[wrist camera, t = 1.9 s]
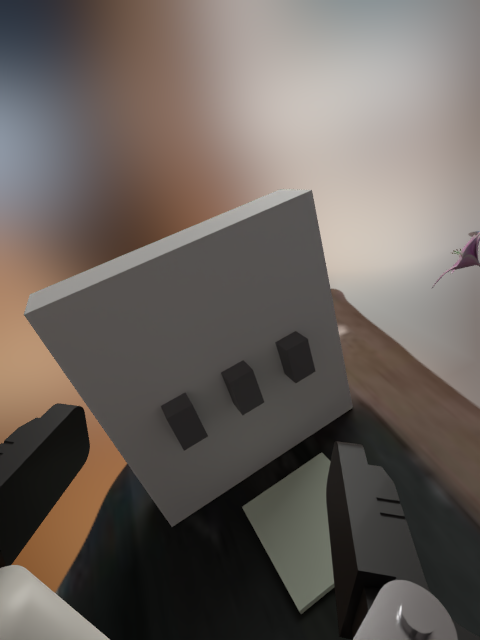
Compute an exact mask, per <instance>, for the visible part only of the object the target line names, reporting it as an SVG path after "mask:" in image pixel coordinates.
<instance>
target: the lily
mask: <svg viewBox="0 0 480 640" xmlns="http://www.w3.org/2000/svg"><path fill="white" fill-rule="evenodd" d="M479 234H480V232H479V233H478V234H477V236H476V237H475V235H474V236H473V237H472V238H471V239H470V240H469V242H468V243H467V244H466V245H465V246H464V248H463V249H462V250H461V249H460V251H461V252H460V253H459V252H457V253H459V254H460V255H459V260H457V262H456V263H455V264H454V265H453V267H452V268H450V269H448V270H447V271H446V272H444V273H443V274H442V275H441V276H440V278H441V277H442V276H443V275H444V274H445V273H447V272H448V271H450V270H452V271H451V274H452V273H453V272H454V270H456V269H460V268H465V267H469V266H473V265H478V266H480V263H479V261H478V244H479V241H480V236H479V237H478V235H479ZM454 252H456V251H454ZM455 254H456V253H455ZM440 278H439V279H440ZM439 279H438V280H437V281H436V283H437V282H438V281H439ZM436 283H435V284H436ZM433 286H434V285H433Z"/></svg>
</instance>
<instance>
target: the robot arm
mask: <svg viewBox="0 0 480 640" xmlns="http://www.w3.org/2000/svg"><path fill="white" fill-rule="evenodd" d="M89 449H90V444H89V437H88V431H87V424H86V418H85V412H84V409H83V408H82V407H80V406H74V405H66V404H55V405H53V406H52V407H51V408H50V409H49V410H48V411H47V412H46V413H45V414H44V415H43V416H42V417H41V418H35V419H33V420H31V421H30V422H28V423H26V424H25V425H23V426H21V427H19V428H18V429H17V430H16V431H15V432H13V433H12V434H11V435H10V436H9V437H8V438H7V439H6V440H5V441H4V443H3V444H2V443H1V444H0V568H2V567H5V566H10V565H11V564H12V563H13V562H14V560H15V559H16V558H17V556H18V555H19V553H20V552H21V551H22V549H23V548H24V546H25V545H26V544H27V542H28V541H29V540H30V538H31V537H32V535H33V534H34V533H35V531H36V530H37V529H38V527H39V526H40V524H41V523H42V522H43V520H44V519H45V517H46V516H47V515H48V513H49V512H50V511H51V509H52V508H53V506H54V505H55V504H56V502H57V501H58V500H59V498H60V497H61V496H62V494H63V492H64V491H65V490H66V489H67V487H68V486H69V484H70V483H71V482H72V480H73V479H74V478H75V476H76V475H77V473H78V472H79V471H80V469H81V468H82V466H83V465H84V464H85V462H86V460H87V457H88V454H89ZM326 504H327V515H328V525H329V535H330V545H331V555H332V566H333V576H334V586H335V596H336V607H337V617H338V627H339V637H342V638H347V639H352V640H480V637H478V636H476V635H475V634H473V633H471V632H469V631H468V630H466V629H464V628H463V627H462V626H460V625H459V624H457V623H456V622H455V621H454V620H453V619H452V618H451V617H450V616H449V614H448V612H447V611H446V609H445V608H444V607H443V605H442V604H441V603H440V602H439V601H438V600H437V599H436V598H435V597H434V596H433V595H432V594H431V592H430V590H429V588H428V585H427V583H426V580H425V577H424V574H423V571H422V568H421V565H420V562H419V559H418V555H417V552H416V549H415V546H414V543H413V540H412V537H411V534H410V531H409V528H408V525H407V522H406V520H405V515H404V512H403V509H402V506H401V505H400V500H399V497H398V494H397V491H396V488H395V484H394V482H393V481H392V480H391V478H390V477H389V476H388V475H387V473H386V472H385V471H384V469H383V468H382V467H380V466H373V465H368V463H367V459H366V455H365V451H364V448H363V446H362V445H360V444H353V443H345V442H338V441H335V443H334V447H333V452H332V457H331V462H330V467H329V473H328V478H327V485H326Z"/></svg>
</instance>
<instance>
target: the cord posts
mask: <svg viewBox="0 0 480 640" xmlns="http://www.w3.org/2000/svg"><path fill="white" fill-rule="evenodd" d="M0 640H110V639H109V638H107V637H106V636H105V635H104V634H103V633H101V632H100V631H99V630H98V629H97V628H96V627H94V626H93V625H92V624H91V623H90V622H88V621H87V620H86V619H85V618H84V617H83V616H81V615H80V614H79V613H78V612H77V611H75V610H74V609H73V608H72V607H71V606H69V605H68V604H67V603H66V602H65V601H64V600H62V599H61V598H60V597H59V596H58V595H56V594H55V593H54V592H53V591H51V589H49V588H48V587H47V586H46V585H45V584H43V583H42V582H41V581H40V580H39V579H37V578H36V577H35V576H34V575H33V574H31V573H30V572H29V571H28V570H27V569H26V568H24V567H22V566H18V565H10V566H5V567H2V568H0Z"/></svg>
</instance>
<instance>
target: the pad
mask: <svg viewBox="0 0 480 640" xmlns="http://www.w3.org/2000/svg"><path fill="white" fill-rule="evenodd" d="M330 462H331V461H330V460H329V459H328V458H327V457H326V456H325V455H324V454H323V453H320V454H319V455H317V456H316V457H314V458H313V459H311V460H310V461H308V462H307V463H305V464H304V465H303V466H301V467H300V468H298V469H297V470H295V471H294V472H292V473H291V474H289V475H288V476H286V477H285V478H284V479H282V480H281V481H279V482H278V483H276V484H275V485H273V486H272V487H270V488H269V489H267V490H266V491H265V492H263V493H262V494H260V495H259V496H257V497H256V498H254V499H253V500H251V501H250V502H248V503H247V504H245V505H244V506H243V507H242V508H243V510H244V512H245V514H246V516H247V517H248V519H249V521H250V523H251V525H252V526H253V528H254V530H255V532H256V534H257V536H258V537H259V539H260V541H261V543H262V545H263V547H264V548H265V550H266V552H267V554H268V556H269V557H270V559H271V561H272V563H273V565H274V567H275V568H276V570H277V572H278V574H279V576H280V578H281V579H282V581H283V583H284V585H285V587H286V588H287V590H288V592H289V594H290V596H291V598H292V599H293V601H294V603H295V605H296V607H297V609H298V610H299V612H300V614H302V613H303V612H305V611H306V610H307V609H308V608H310V607H311V606H312V605H313V604H314V603H316V602H317V601H318V600H319V599H320V598H322V597H323V596H324V595H325V594H327V593H328V592H329V591H330V590H331V589H333V588H334V587H335V586H334V576H333V566H332V555H331V545H330V535H329V525H328V515H327V504H326V485H327V478H328V473H329V467H330Z"/></svg>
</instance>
